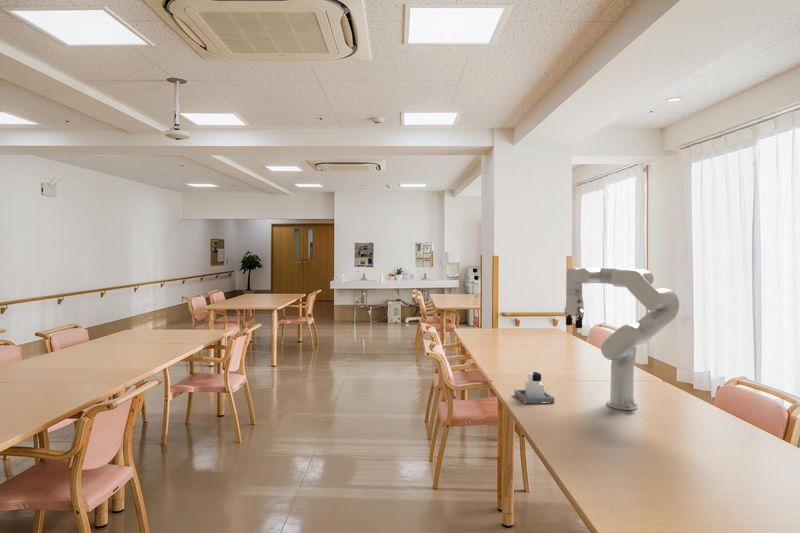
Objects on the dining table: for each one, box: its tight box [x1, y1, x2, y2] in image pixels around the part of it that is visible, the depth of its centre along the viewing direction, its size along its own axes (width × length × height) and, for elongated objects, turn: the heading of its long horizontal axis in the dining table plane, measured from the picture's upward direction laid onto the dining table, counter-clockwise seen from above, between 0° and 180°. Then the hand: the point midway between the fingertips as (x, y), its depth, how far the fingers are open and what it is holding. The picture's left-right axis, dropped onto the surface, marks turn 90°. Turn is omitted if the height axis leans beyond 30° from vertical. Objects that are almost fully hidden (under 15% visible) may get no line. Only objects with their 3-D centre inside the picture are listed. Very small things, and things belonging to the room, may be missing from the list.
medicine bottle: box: [524, 371, 545, 398], centre depth 216 cm, size 7×7×12 cm
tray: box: [513, 389, 555, 404], centre depth 216 cm, size 14×14×2 cm
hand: (573, 326), depth 227 cm, fingers open, 9 cm apart
